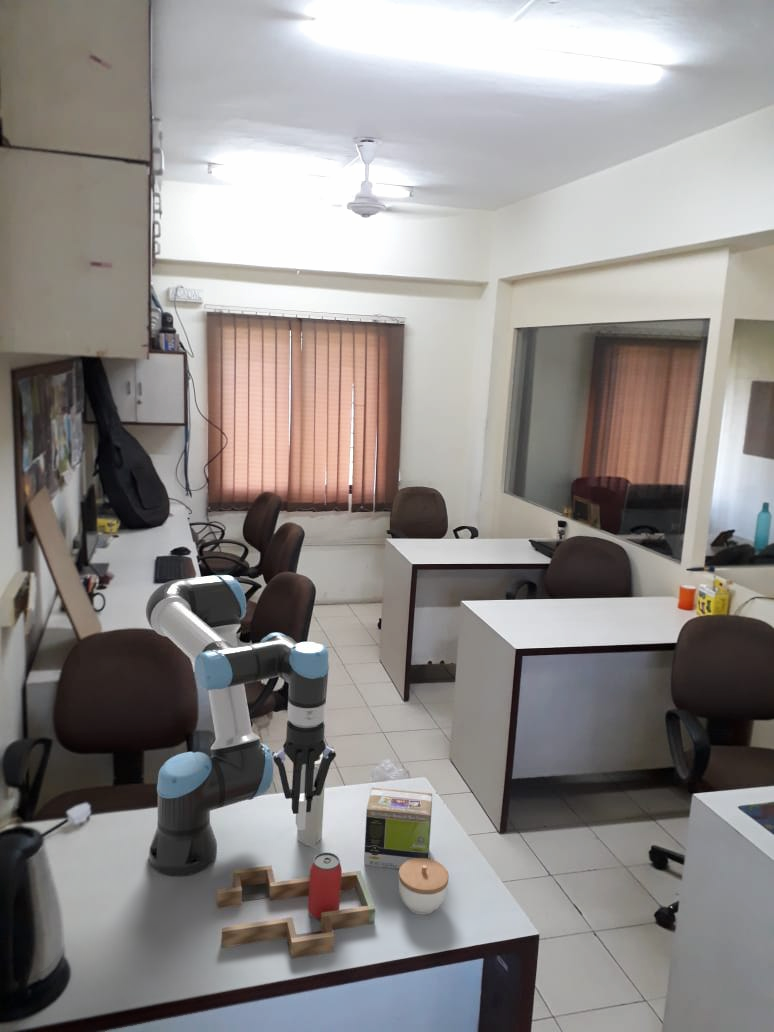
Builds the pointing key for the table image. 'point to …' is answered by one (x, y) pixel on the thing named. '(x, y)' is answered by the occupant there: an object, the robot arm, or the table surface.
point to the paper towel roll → (312, 812)
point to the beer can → (324, 884)
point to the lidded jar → (422, 885)
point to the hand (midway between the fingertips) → (300, 825)
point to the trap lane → (263, 886)
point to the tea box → (397, 827)
